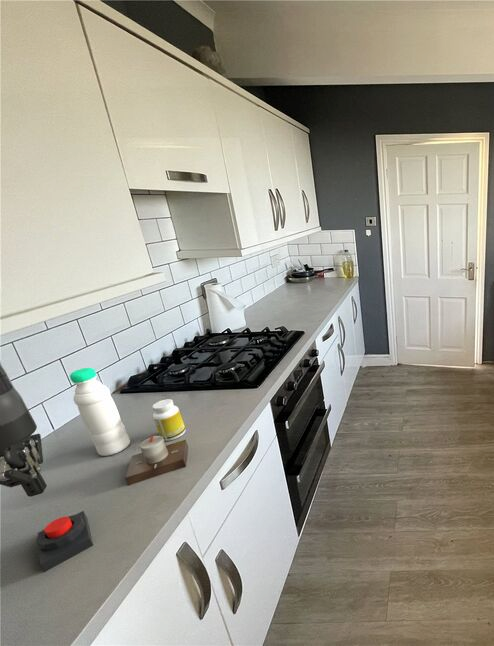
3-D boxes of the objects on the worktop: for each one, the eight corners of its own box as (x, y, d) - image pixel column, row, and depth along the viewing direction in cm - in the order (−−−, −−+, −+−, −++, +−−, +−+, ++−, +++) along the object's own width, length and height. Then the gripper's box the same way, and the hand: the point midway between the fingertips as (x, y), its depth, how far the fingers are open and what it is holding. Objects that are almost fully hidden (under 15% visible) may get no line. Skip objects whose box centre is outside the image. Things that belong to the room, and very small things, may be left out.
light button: (47, 531, 70) (43, 525, 70) (71, 519, 73) (68, 513, 72) (48, 542, 68) (44, 536, 67) (73, 529, 71) (70, 523, 70)
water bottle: (117, 456, 95) (82, 377, 86) (91, 457, 95) (54, 378, 86) (137, 439, 102) (106, 364, 93) (113, 440, 102) (80, 364, 93)
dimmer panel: (128, 485, 86) (124, 477, 85) (135, 463, 93) (131, 455, 92) (186, 466, 91) (183, 458, 90) (188, 446, 98) (185, 438, 98)
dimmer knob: (168, 458, 90) (161, 442, 89) (145, 466, 88) (138, 450, 86) (168, 448, 94) (162, 432, 92) (146, 455, 92) (140, 439, 90)
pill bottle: (190, 427, 107) (180, 396, 103) (178, 441, 101) (166, 409, 97) (169, 428, 106) (158, 398, 102) (156, 442, 100) (143, 410, 96)
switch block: (42, 540, 72) (33, 526, 71) (87, 517, 77) (80, 504, 76) (44, 572, 66) (35, 557, 65) (93, 545, 71) (86, 531, 70)
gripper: (7, 430, 57) (52, 508, 63) (40, 393, 68) (75, 462, 74) (-62, 447, 53) (-8, 528, 60) (-16, 405, 64) (26, 477, 70)
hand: (38, 491), depth 67 cm, fingers closed
